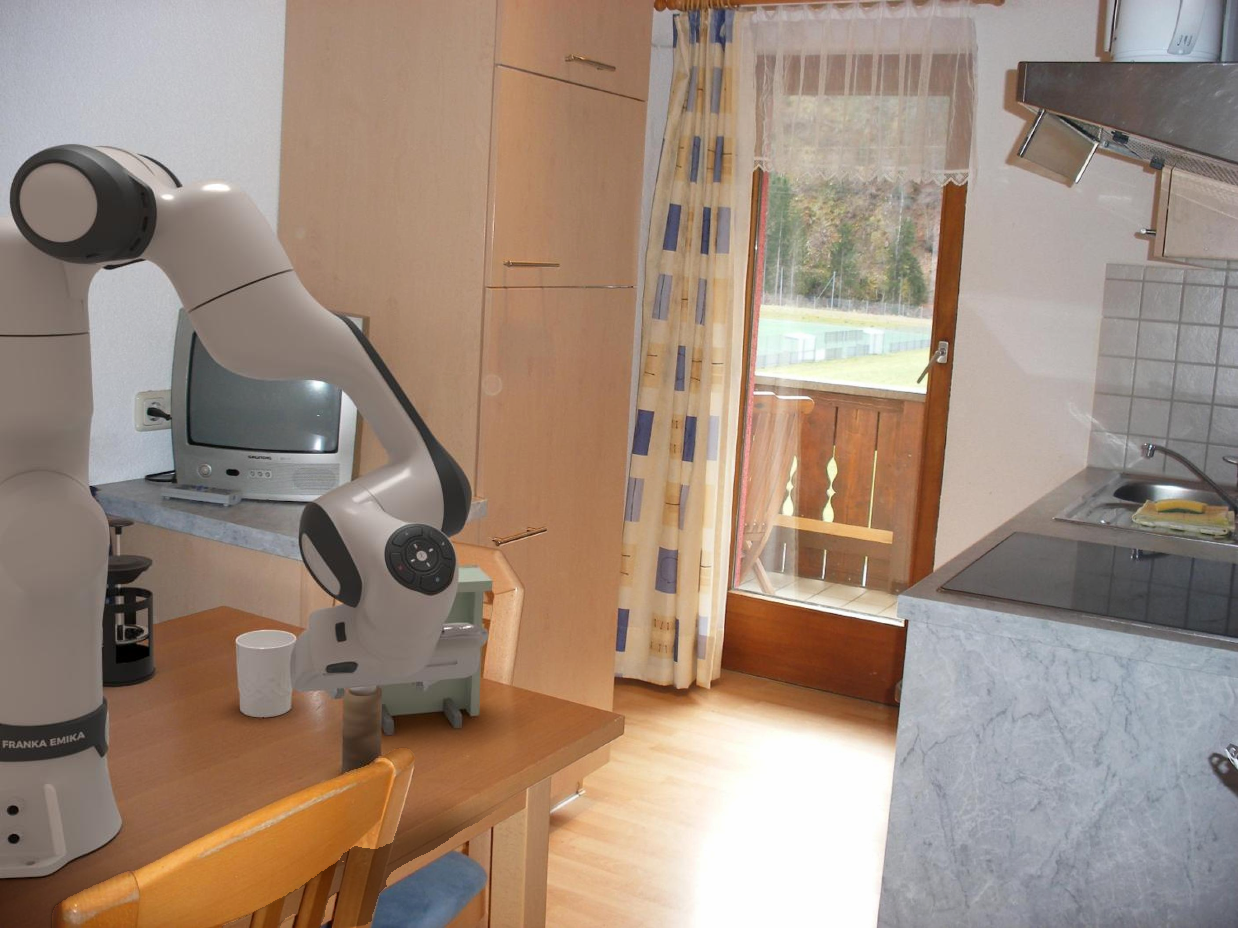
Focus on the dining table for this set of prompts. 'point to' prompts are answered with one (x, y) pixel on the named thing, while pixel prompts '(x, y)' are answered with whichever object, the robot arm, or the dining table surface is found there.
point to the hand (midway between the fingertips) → (377, 689)
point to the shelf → (448, 691)
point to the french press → (126, 620)
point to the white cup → (264, 672)
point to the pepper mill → (361, 726)
